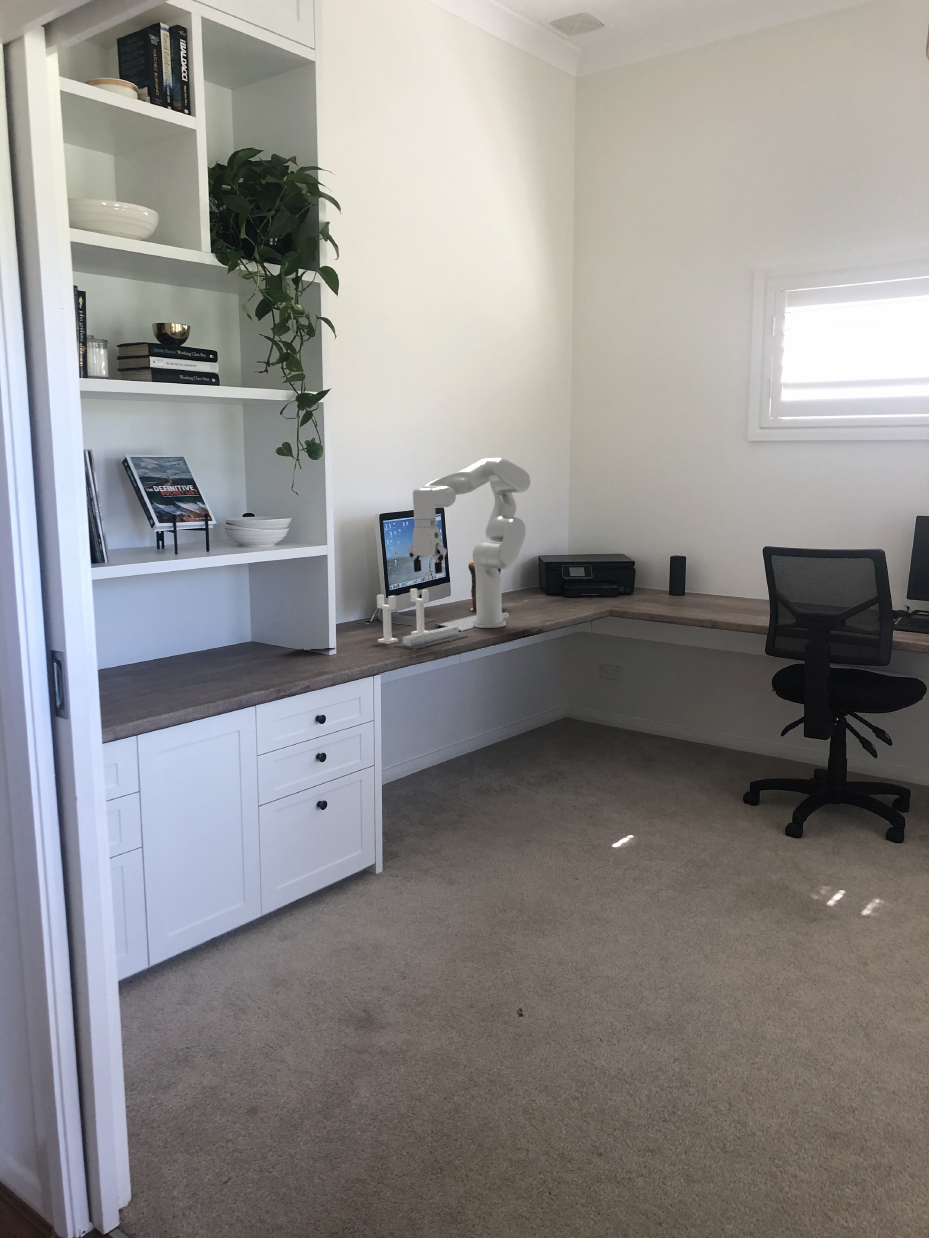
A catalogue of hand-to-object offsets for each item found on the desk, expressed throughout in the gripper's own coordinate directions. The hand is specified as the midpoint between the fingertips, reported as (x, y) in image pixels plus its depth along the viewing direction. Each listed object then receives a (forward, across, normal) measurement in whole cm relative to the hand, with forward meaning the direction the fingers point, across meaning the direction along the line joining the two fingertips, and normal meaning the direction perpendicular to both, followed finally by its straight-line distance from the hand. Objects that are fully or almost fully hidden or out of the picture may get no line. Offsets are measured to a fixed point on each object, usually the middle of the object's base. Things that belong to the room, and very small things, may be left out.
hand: (428, 572), depth 335 cm
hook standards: (+24, +8, +5) cm, 25 cm away
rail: (+23, -5, +6) cm, 24 cm away
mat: (+24, -5, +6) cm, 25 cm away
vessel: (+26, +21, -60) cm, 69 cm away
